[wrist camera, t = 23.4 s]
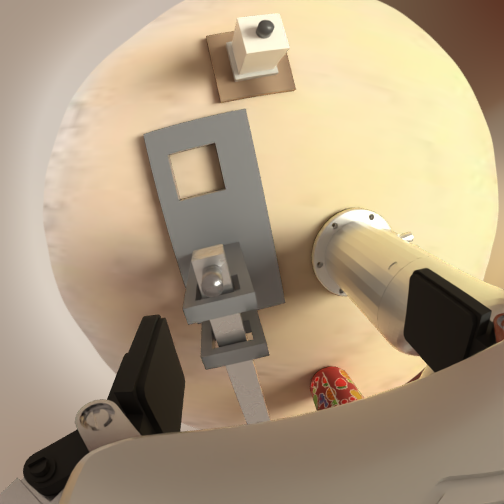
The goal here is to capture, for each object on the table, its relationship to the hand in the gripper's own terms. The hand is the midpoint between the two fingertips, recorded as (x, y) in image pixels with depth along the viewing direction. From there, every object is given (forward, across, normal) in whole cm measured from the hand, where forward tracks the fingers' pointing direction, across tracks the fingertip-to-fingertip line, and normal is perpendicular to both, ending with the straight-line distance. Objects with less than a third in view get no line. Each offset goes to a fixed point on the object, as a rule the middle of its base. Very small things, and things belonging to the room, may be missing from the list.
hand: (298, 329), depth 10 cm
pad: (+28, -3, -18) cm, 33 cm away
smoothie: (+29, -10, +31) cm, 43 cm away
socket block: (+28, +3, +1) cm, 28 cm away
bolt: (+16, +3, +12) cm, 21 cm away
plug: (+26, -3, -18) cm, 32 cm away
